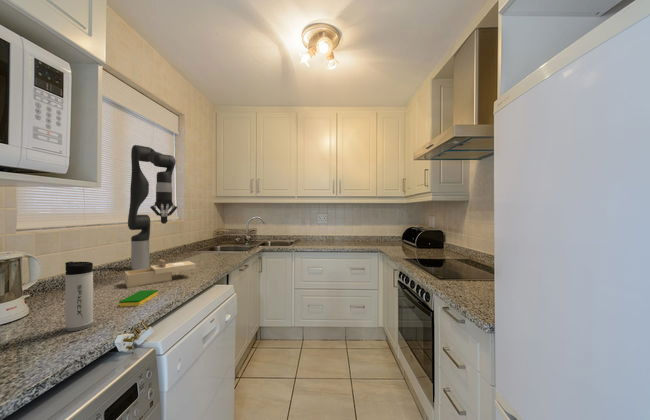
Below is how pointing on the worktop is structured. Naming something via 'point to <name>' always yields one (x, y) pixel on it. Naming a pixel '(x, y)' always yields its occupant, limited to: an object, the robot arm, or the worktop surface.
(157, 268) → the lid
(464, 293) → the worktop surface
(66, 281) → the travel mug
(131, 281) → the box
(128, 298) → the dish sponge
